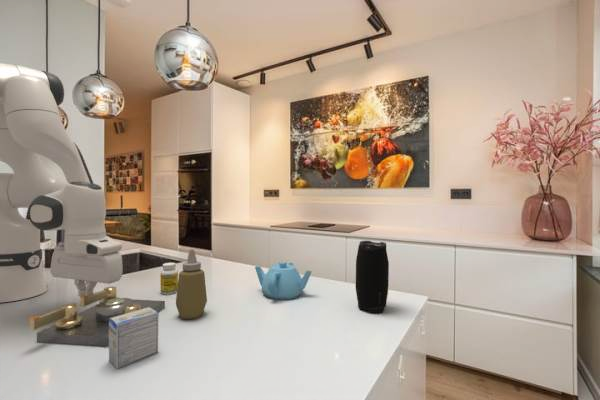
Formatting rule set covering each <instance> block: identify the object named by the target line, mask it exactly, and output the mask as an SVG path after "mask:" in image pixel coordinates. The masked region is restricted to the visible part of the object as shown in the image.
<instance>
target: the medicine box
mask: <svg viewBox="0 0 600 400" xmlns="http://www.w3.org/2000/svg"><path fill="white" fill-rule="evenodd" d="M159 313H160V312H156V311H155V310H153V309H151V308H149V307H148V308H144V309H141V310H137V311H133V312H130V313H126V314H123V315H119V316H116V317H113V318H110V319H109V347H108V360H109V361H110V363H111V365H113V366H114V368H115V369H117V370H118V369H120V368H122V367H125V366H127V365H129V364H132V363H134V362H137V361H140V360H141V359H143V358H144V359H145V358H147V357H149V356H152V355H154V354H156V353H158V352H159Z"/></svg>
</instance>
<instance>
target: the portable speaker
mask: <svg viewBox="0 0 600 400" xmlns="http://www.w3.org/2000/svg"><path fill="white" fill-rule="evenodd" d="M388 256H389V255H388V252H387V243H386V242H383V241H380V242H376V241H375V242H374V241H371V240H361V241H359V244H358V248H357V254H356V260H355V293H356V300H357V307H358V309H359V310H362V309H364V310H368V311H369V313H370V314H373V315H374V314H382V313H384V311H385V309H386V306H387V300H388V295H389V278H390V277H389V275H390V274H389V273H390V272H389V270H390V268H389V266H390V265H389V263H390V262H389V257H388Z"/></svg>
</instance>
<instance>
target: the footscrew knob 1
mask: <svg viewBox="0 0 600 400" xmlns="http://www.w3.org/2000/svg"><path fill="white" fill-rule="evenodd" d="M77 314H78V304H77V303H76V302H75V303H74V302H73V303H66V304H63V305H61V306H60V308H58V309H55V310H52V311H49V312H47V313H44V314H42V315H39V316H38V315H37V316H36V315H33V316H31V317H29V318H28V320H29V330H32V331H35V330H38V329H40V328H42V327H44V326H48V325H49V324H53V323H55V324H54V325H55V328H57V329H67V328H71V327H75V326H77V325H79V324H81V323H82V316H77Z"/></svg>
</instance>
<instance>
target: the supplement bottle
mask: <svg viewBox="0 0 600 400" xmlns="http://www.w3.org/2000/svg"><path fill="white" fill-rule="evenodd" d="M178 271H179V270H178V269H177V267H176V262H164V263H163V264H162V270H161V271H160V293H161V295H165V296H166V295H174V294H177V287H178V278H179V272H178Z"/></svg>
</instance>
